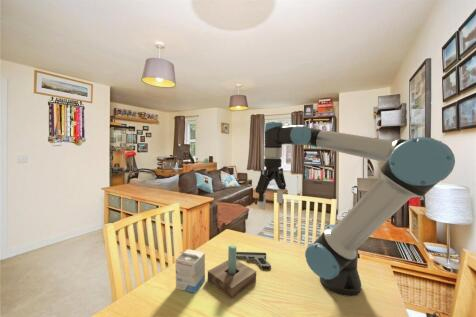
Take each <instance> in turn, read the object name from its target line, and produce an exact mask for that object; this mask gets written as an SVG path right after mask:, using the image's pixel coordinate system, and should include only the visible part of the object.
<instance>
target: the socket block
mask: <svg viewBox="0 0 476 317" xmlns="http://www.w3.org/2000/svg"><path fill="white" fill-rule="evenodd" d="M207 281H208V282H209V283H210V284H212V285H213V286H214V287H215V288H217V289H218V290H220V292H222V293H224V294H225V295H226V296H228V297H229V298H230V299H233V298H235V297H236V296H238V295H239V294H240V293H242V292H243V291H244V290H245V289H247V288H248V287H249V286H251V285H252V284H254V283H255V282H256V281H257V270H255V269H253V268H251V267H249V266H248V265H246V264H244V263H242V262H241V261H238V259H236V274H235V275H233V276H231V275H229V274H228V259H227V260H226V261H223V262H221V263H220V264H218V265H215V267H213V268H211V269H209V270H207Z"/></svg>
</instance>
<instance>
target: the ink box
mask: <svg viewBox="0 0 476 317" xmlns="http://www.w3.org/2000/svg"><path fill="white" fill-rule="evenodd" d="M179 253H180V255H179V256H178V257H177V258H175V259H174V260H175V289H178V290H182V291H184V292H188V293H193V294H196V293H197V291H198V290H199V289H200V288H201V286H202V285H203V284H204V282H205V281H206V267H205V266H206V260H205V259H206V258H205V256H206V254H205V252H203V251H198V250H194V249H189V248H187V249H186V250H184V252H182V251H180V252H179Z"/></svg>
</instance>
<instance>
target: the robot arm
mask: <svg viewBox="0 0 476 317" xmlns="http://www.w3.org/2000/svg"><path fill="white" fill-rule="evenodd" d="M264 128H265V129H264V155H263V156H264V158H263V166H264V167H265V169H261V170H260V176H259V179H258V182H257V185H256V188H255V193H257V194H258V208H259V209H260V210H264V211H265V210H266V202H267V201H266V199H267V194H266V191H267V189H268V187H269V184H270V182H271V181H273V180H274V181H275V184H276V186H277V189H276V203H277V204H283V202H284V201H283V199H284V190H286V187H287V184H286V180H285V176H284V168H282V159H281V158H282V156H283V145H293V146H296V145H297V146H304V145H305V146H310V147H313V148H314V147H315V148H320V149H325V150H329V151H334V152H338V153H343V154H346V155H350V156H351V155H352V156H356V157H360V158H364V159H369V160H373V161H377V162H381V163H384V164H383V165H382V166H381V167H380V168H379V175H380V177H379V178H378V179H377V180H376V182H375V183H373V184H372V186H371V187H370V188H369V190H368V191H366V192H365V193H364V194H363V196H362V197H361V198H360V199H359V200H358V201H357V202H356V203H355V204H354V205H353V207H351V208H350V210H349V211H348V212H347V213H346V214H345V216H343V218H342V219H340V221H339V222H338V223H337V224H327V225H326V228H325V230H324V231H323V232H322V233H321V234H320V235H319V236H318V238H317V239H316V240H315V241H314V242H311V243H310V244H308V246H307V247H306V249H305V253H304V257H305V259H306V260H305V261H306V263H307V265H308V268H309V269H310V270H311V271H312V272H313V273H314V274H315V275H316V276H318V277H319V281H320V283H321V284H322V285H323V287H325V288H326V290H327V289H328V290H329V291H330V292H333V293H335V294H337V295H340V296H343V297H355V296H358V295H359V294H361V292H362V281H361V278H360V275H359V271H358V259H359V247H361V245H363V243H364V242H365V241H366V240H368V239H369V238H370V237H371V236H372V235H373V234H374V233H375V232H377V230H378V229H380V227H382V226H383V225H384V224H385V223H386V222H387V221H388V220H389V219H390V218H391V217H392V216H393V215H394V214H395V213H396V212H397V211H399V210H400V209H401V207H403V206H404V205H405V204H406V203H407V202H408V201H409V200H410V199H412V198H422V197H424V196H425V195H427V193H428V192H429V191H431V190H432V189H433V188H434V187H435V186H436V185H438V183H440V182H442V181H444V180H445V179H447V178H448V176H449V175H450V174H451V173H452V172H453V170H454V168H455V164H456V157H455V153H453V150H452V149H451V148H450V147H449V146H448V145H447V144H446V143H444V142H442V141H441V140H438V139H435V138H432V137H426V136H425V137H424V136H422V137H421V136H420V137H419V136H418V137H413V138H410V139H403V138H398V139H395V140H389V139H384V138H377V137H370V136H365V135H364V136H363V135H359V134H358V135H357V134H351V133H345V132H340V131H339V132H338V131H331V130H326V129H319V128H313V127H309V126H308V125H307V124H306V125H305V124H296V125H288V126H287V125H286V126H284V123H283V122H281V121H268V122H266V123H265V127H264Z"/></svg>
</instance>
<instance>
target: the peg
mask: <svg viewBox="0 0 476 317" xmlns="http://www.w3.org/2000/svg"><path fill="white" fill-rule="evenodd" d="M236 252H237V246H236V245H233V244H232V245H229V246H228V255H227V256H228V258H227V260H228V274H229V275H231V276H233V275H235V274H236V260H237V259H236Z"/></svg>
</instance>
